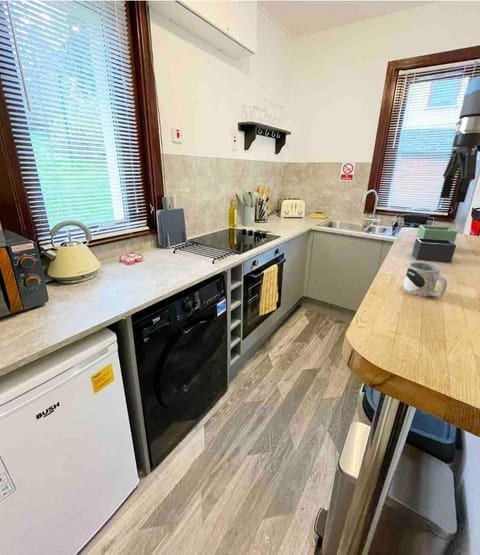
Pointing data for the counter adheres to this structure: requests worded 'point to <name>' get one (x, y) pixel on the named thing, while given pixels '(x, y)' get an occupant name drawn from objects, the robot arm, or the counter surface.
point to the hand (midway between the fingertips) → (451, 199)
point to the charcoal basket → (433, 250)
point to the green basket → (437, 233)
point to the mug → (423, 280)
